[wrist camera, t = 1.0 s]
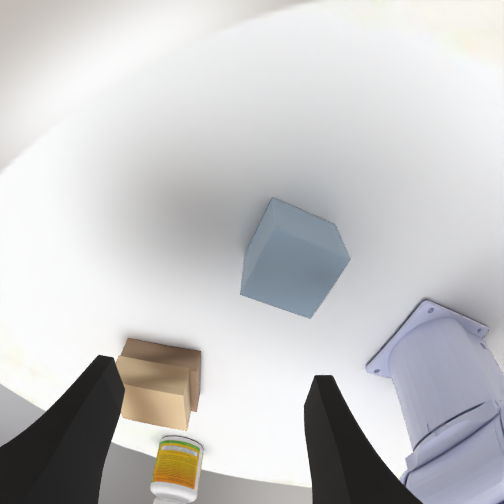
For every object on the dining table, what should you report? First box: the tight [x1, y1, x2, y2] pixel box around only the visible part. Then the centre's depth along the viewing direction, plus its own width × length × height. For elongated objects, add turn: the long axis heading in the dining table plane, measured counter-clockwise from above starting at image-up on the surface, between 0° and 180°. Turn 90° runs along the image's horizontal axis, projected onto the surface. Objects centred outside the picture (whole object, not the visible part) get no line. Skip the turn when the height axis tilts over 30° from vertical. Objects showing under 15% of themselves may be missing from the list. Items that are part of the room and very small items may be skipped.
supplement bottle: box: [150, 436, 203, 504], centre depth 29 cm, size 5×5×10 cm
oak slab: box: [116, 356, 192, 431], centre depth 22 cm, size 6×6×2 cm
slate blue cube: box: [240, 197, 350, 319], centre depth 17 cm, size 4×4×4 cm
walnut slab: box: [120, 338, 201, 412], centre depth 24 cm, size 6×6×2 cm
